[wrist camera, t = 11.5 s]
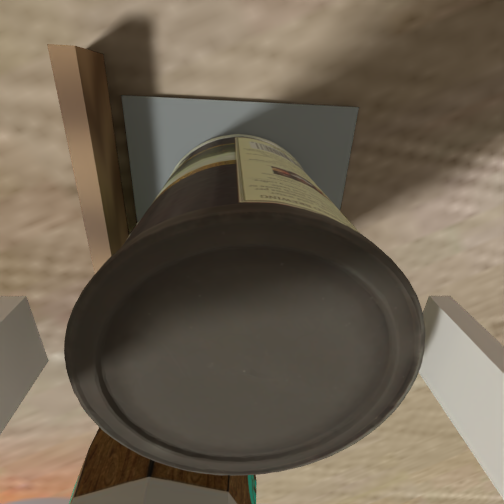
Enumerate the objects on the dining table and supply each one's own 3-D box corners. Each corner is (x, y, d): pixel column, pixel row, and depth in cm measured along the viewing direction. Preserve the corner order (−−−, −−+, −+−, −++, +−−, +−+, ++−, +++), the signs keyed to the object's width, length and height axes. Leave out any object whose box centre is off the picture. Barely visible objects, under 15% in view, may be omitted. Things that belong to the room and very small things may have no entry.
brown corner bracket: (80, 52, 17) (47, 44, 14) (429, 73, 19) (468, 69, 16) (124, 315, 25) (109, 346, 22) (365, 316, 27) (383, 345, 24)
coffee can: (170, 277, 24) (100, 486, 11) (155, 131, 19) (7, 208, 6) (305, 276, 24) (383, 474, 12) (323, 135, 20) (484, 213, 7)
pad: (122, 95, 18) (121, 95, 18) (357, 107, 19) (358, 107, 19) (147, 294, 25) (146, 297, 24) (323, 296, 26) (324, 298, 25)
